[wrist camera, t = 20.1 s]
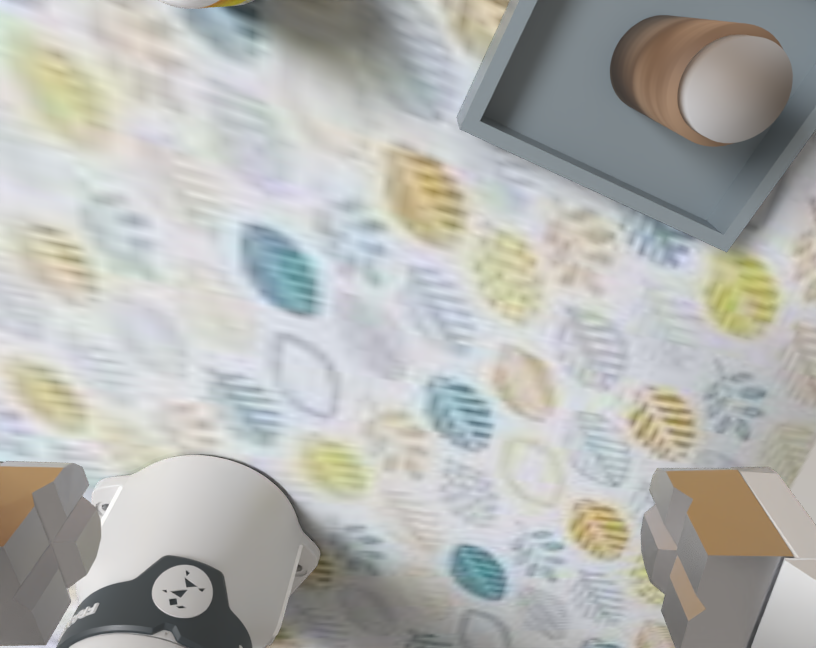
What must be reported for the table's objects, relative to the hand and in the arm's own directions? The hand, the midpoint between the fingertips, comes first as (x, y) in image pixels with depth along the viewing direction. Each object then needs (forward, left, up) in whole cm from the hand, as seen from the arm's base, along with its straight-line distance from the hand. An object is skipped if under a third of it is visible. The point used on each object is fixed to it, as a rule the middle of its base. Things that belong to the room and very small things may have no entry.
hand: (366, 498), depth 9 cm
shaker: (+8, -11, -30) cm, 33 cm away
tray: (+8, -11, -31) cm, 34 cm away
